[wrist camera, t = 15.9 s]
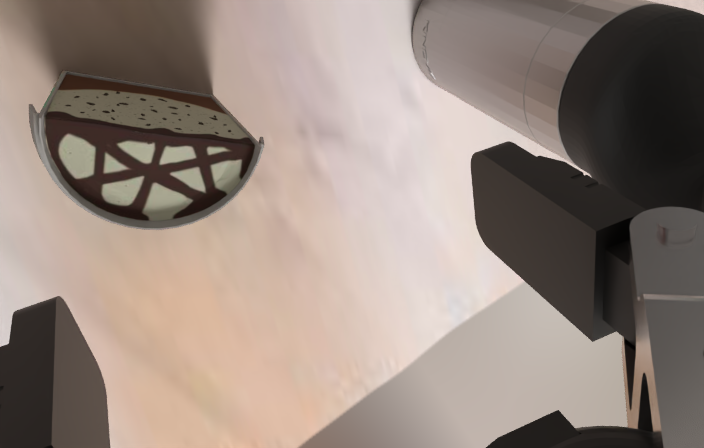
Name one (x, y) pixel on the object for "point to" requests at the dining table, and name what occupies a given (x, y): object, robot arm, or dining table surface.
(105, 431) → the robot arm
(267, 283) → the dining table surface
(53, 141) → the food container
